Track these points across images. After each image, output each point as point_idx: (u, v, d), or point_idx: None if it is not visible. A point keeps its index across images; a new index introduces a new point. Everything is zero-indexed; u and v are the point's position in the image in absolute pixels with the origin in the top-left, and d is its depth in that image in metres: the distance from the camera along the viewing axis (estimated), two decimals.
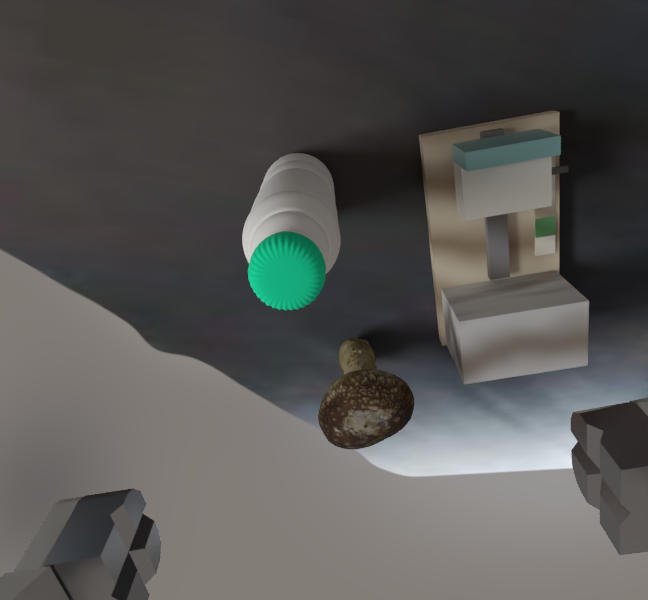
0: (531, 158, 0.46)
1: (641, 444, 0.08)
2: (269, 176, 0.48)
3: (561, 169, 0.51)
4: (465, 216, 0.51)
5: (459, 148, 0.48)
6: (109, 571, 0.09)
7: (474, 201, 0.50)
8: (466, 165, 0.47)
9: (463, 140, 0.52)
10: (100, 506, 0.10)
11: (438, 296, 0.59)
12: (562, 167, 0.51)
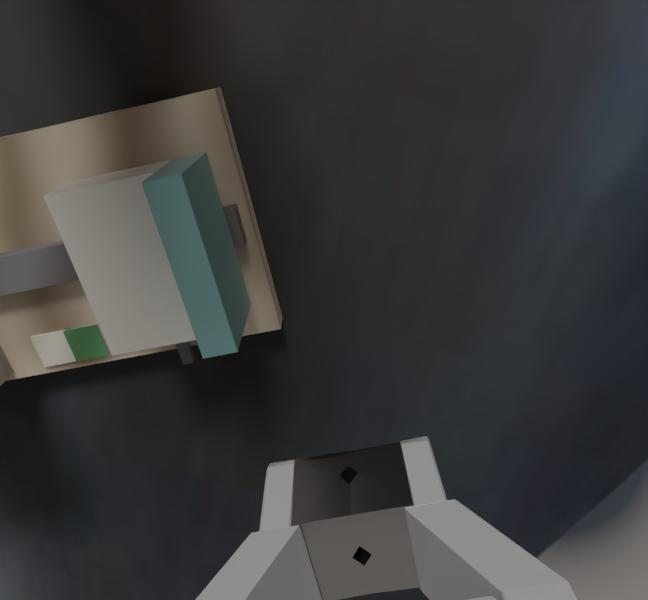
0: (188, 309, 0.23)
1: (382, 487, 0.09)
2: None
3: (186, 353, 0.29)
4: (53, 196, 0.23)
5: (194, 163, 0.23)
6: (354, 531, 0.08)
7: (90, 211, 0.23)
8: (154, 180, 0.21)
9: (217, 175, 0.27)
10: (323, 467, 0.09)
11: None
12: (189, 354, 0.29)
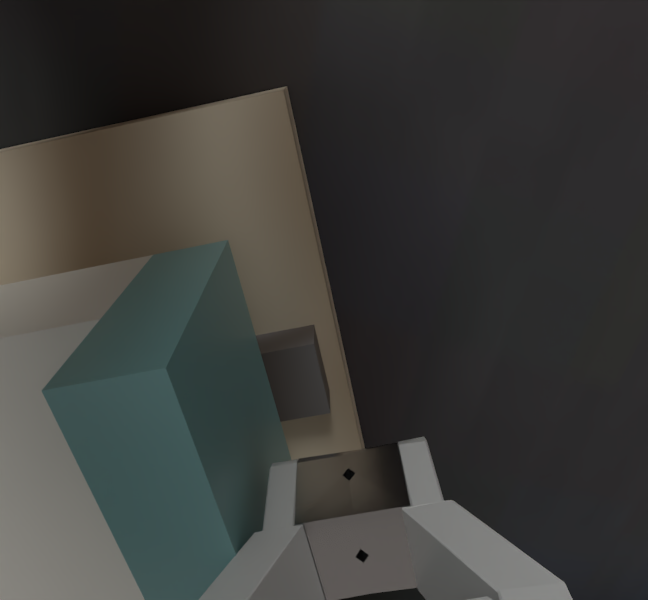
0: None
1: (379, 488, 0.09)
2: None
3: None
4: None
5: (202, 295, 0.09)
6: (357, 530, 0.08)
7: None
8: (83, 383, 0.07)
9: (278, 271, 0.13)
10: (325, 467, 0.09)
11: None
12: None
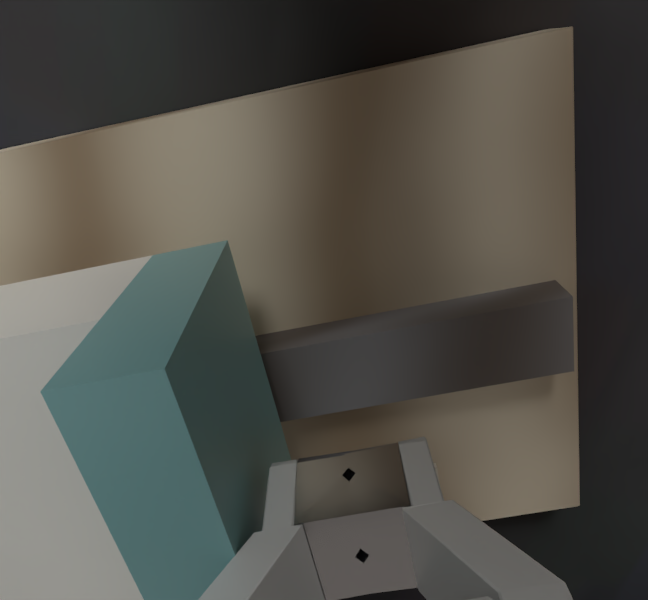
0: None
1: (379, 488, 0.09)
2: None
3: None
4: None
5: (202, 296, 0.09)
6: (357, 530, 0.08)
7: None
8: (82, 383, 0.07)
9: (529, 222, 0.13)
10: (325, 467, 0.09)
11: None
12: None
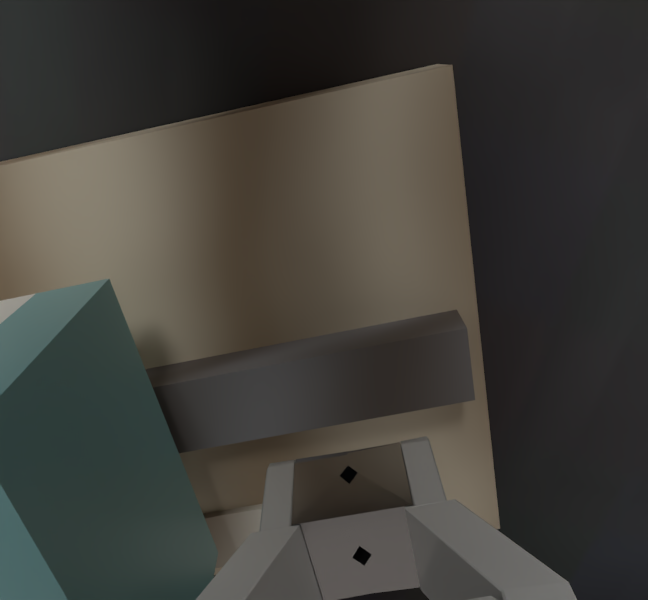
0: None
1: (382, 488, 0.09)
2: None
3: None
4: None
5: (51, 343, 0.09)
6: (354, 531, 0.08)
7: None
8: None
9: (426, 254, 0.13)
10: (323, 468, 0.09)
11: None
12: None
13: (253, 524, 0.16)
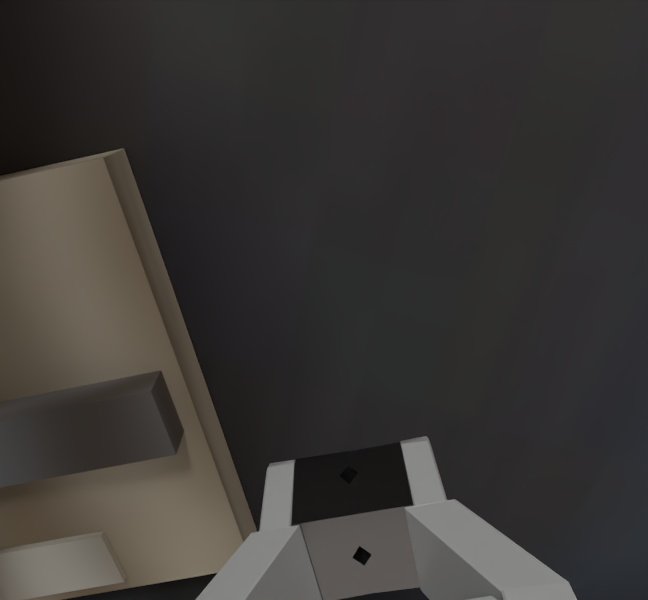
0: None
1: (382, 487, 0.09)
2: None
3: None
4: None
5: None
6: (354, 531, 0.08)
7: None
8: None
9: (120, 321, 0.14)
10: (323, 468, 0.09)
11: None
12: None
13: (12, 565, 0.17)
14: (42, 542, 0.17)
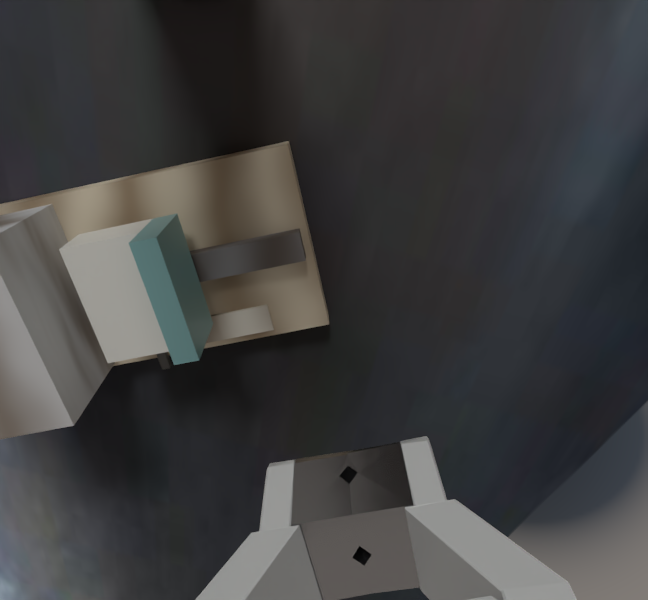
0: (163, 329, 0.32)
1: (383, 487, 0.09)
2: None
3: (164, 361, 0.38)
4: (65, 249, 0.32)
5: (166, 226, 0.32)
6: (354, 531, 0.08)
7: (92, 259, 0.33)
8: (137, 241, 0.30)
9: (286, 207, 0.36)
10: (323, 467, 0.09)
11: (37, 201, 0.36)
12: (167, 361, 0.38)
13: (227, 320, 0.39)
14: (241, 309, 0.39)
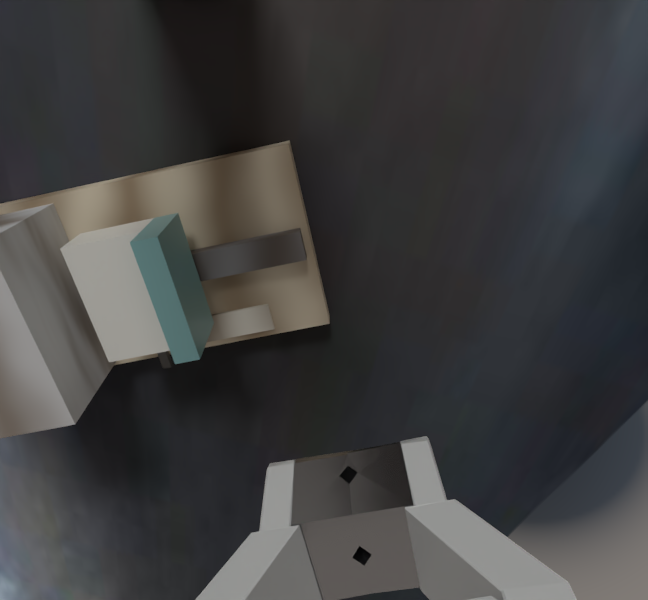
0: (163, 328, 0.32)
1: (382, 487, 0.09)
2: None
3: (165, 360, 0.38)
4: (67, 248, 0.32)
5: (167, 225, 0.32)
6: (354, 531, 0.08)
7: (93, 259, 0.33)
8: (138, 240, 0.30)
9: (287, 206, 0.36)
10: (323, 467, 0.09)
11: (38, 200, 0.36)
12: (168, 360, 0.39)
13: (228, 319, 0.39)
14: (241, 308, 0.39)
